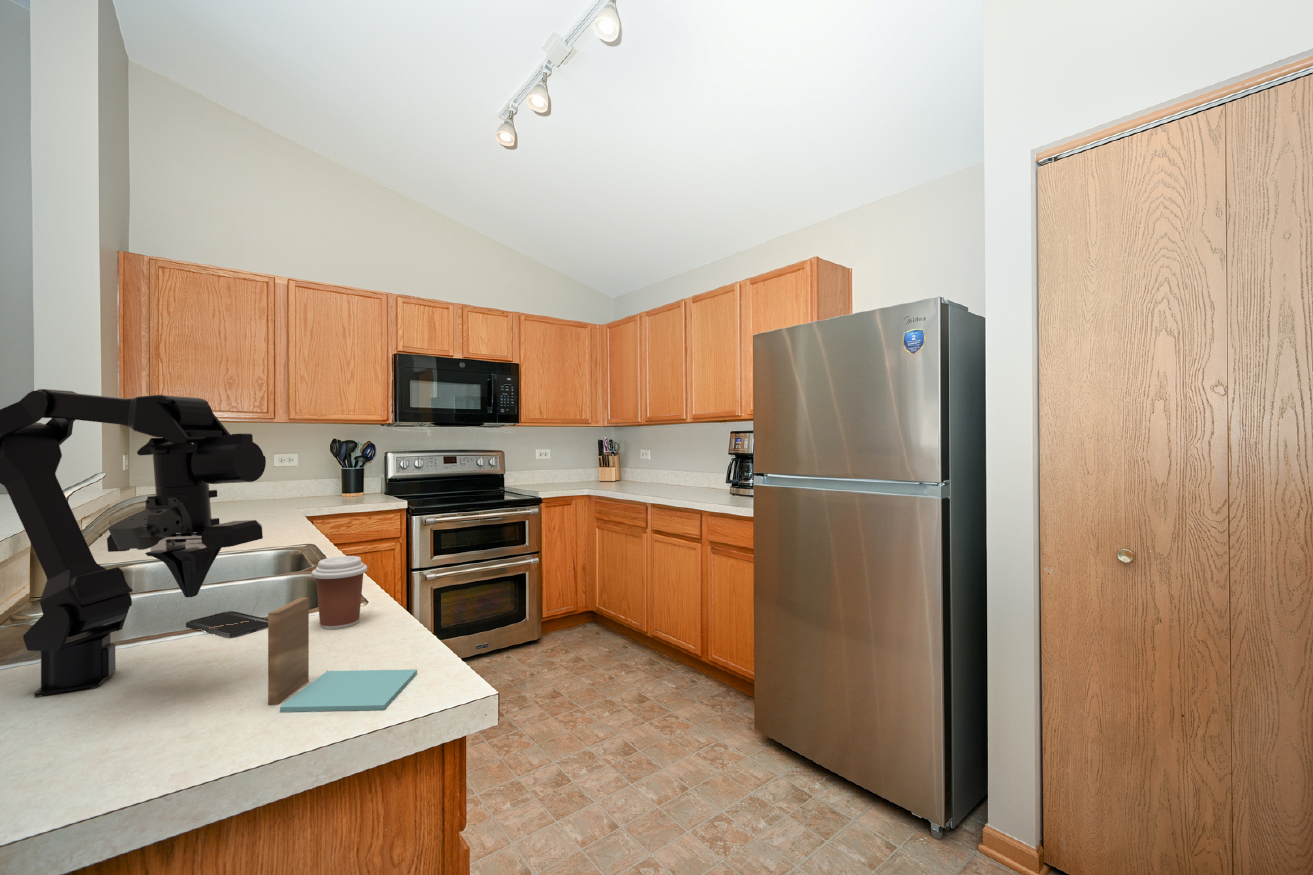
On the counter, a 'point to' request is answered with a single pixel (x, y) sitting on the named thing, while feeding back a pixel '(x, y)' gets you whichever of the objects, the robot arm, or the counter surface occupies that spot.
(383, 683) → the mat
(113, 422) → the robot arm
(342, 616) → the coffee cup
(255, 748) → the counter surface
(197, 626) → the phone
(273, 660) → the walnut tile
